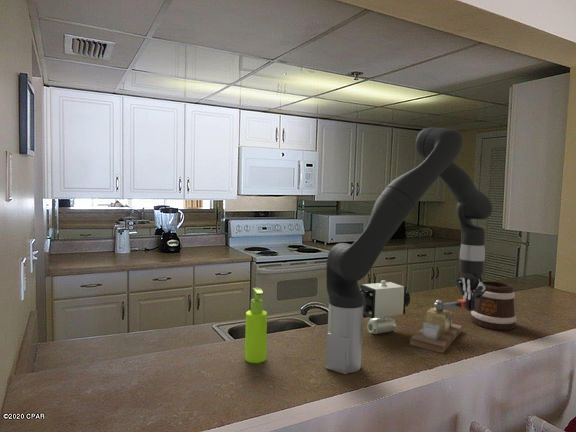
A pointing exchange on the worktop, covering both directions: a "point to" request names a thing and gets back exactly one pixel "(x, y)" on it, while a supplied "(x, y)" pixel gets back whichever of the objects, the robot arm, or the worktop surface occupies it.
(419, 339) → the valve base
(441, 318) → the valve pipe
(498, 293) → the mug
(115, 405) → the worktop surface
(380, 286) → the ball valve
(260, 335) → the soap dispenser
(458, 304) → the lever
